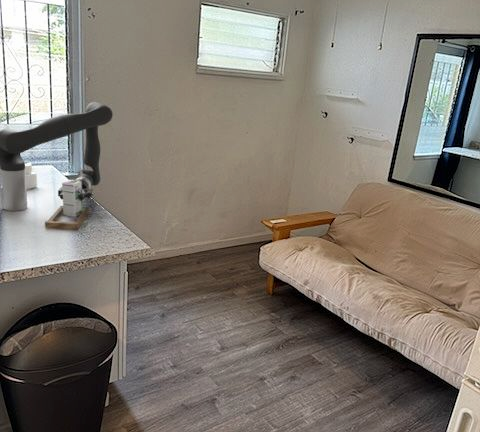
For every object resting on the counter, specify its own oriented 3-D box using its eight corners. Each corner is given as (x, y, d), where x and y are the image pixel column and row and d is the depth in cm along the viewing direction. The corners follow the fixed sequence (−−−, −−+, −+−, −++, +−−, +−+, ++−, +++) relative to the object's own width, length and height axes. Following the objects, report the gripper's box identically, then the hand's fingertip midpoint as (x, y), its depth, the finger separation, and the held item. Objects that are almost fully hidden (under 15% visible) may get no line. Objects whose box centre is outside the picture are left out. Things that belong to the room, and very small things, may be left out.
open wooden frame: (45, 228, 172) (45, 222, 171) (61, 210, 192) (60, 204, 191) (83, 230, 174) (82, 224, 173) (94, 212, 194) (94, 206, 193)
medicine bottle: (14, 187, 214) (12, 163, 210) (26, 184, 220) (25, 160, 216) (25, 190, 212) (24, 165, 208) (37, 187, 218) (36, 163, 214)
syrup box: (75, 217, 186) (74, 184, 181) (62, 215, 187) (61, 182, 182) (82, 213, 191) (82, 181, 186) (70, 211, 192) (69, 178, 187)
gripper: (64, 177, 198) (52, 188, 182) (97, 180, 199) (88, 190, 184) (64, 193, 200) (53, 205, 185) (97, 195, 202) (88, 207, 186)
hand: (71, 197), depth 184 cm, fingers closed on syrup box, 7 cm apart
